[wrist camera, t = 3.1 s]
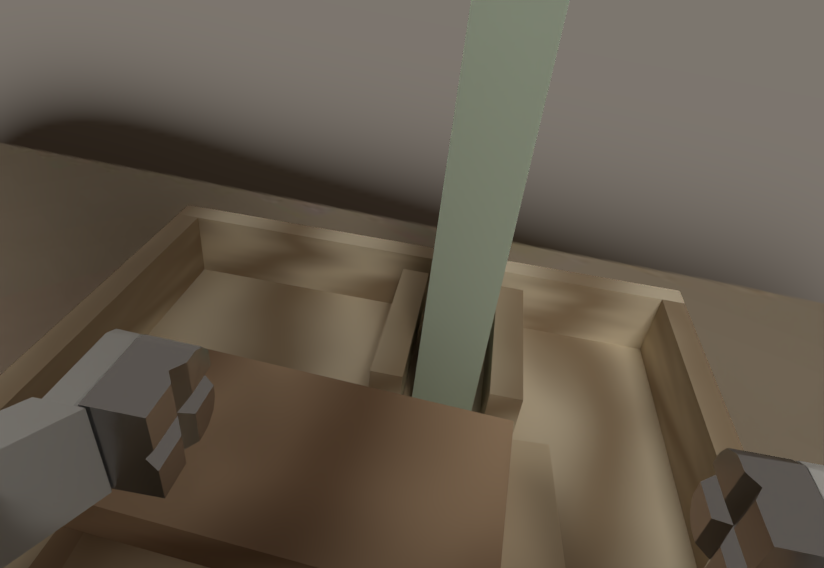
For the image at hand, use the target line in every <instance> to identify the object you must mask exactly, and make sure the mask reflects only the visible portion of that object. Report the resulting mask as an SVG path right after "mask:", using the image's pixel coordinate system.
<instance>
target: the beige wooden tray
mask: <svg viewBox="0 0 824 568" xmlns="http://www.w3.org/2000/svg"><path fill="white" fill-rule="evenodd" d="M433 253H434V248H431V247H426V246H420V245H414V244H409V243H403V242H397V241H391V240H386V239H380V238H374V237H369V236H363V235H357V234H351V233H346V232H340V231H334V230H329V229H323V228H317V227H311V226H306V225H300V224H294V223H289V222H283V221H277V220H272V219H266V218H260V217H254V216H249V215H243V214H237V213H232V212H226V211H220V210H214V209H209V208H203V207H197V206H192V205H188V206H187V207H185V208H184V209H183V210H182V211H181V212H180V213H179V214H178V215H177V216H175V217H174V218H173V219H172V220H171V221H170V222H169V223H168V224H167V225H166V226H164V227H163V228H162V229H161V230H160V231H159V232H158V233H157V234H156V235H155V236H153V237H152V238H151V239H150V240H149V241H148V242H147V243H146V244H145V245H143V246H142V247H141V248H140V249H139V250H138V251H137V252H136V253H135V254H134V255H132V256H131V257H130V258H129V259H128V260H127V261H126V262H125V263H124V264H122V265H121V266H120V267H119V268H118V269H117V270H116V271H115V272H114V273H113V274H111V275H110V276H109V277H108V278H107V279H106V280H105V281H104V282H103V283H101V284H100V285H99V286H98V287H97V288H96V289H95V290H94V291H93V292H92V293H90V294H89V295H88V296H87V297H86V298H85V299H84V300H83V301H82V302H80V303H79V304H78V305H77V306H76V307H75V308H74V309H73V310H72V311H71V312H69V313H68V314H67V315H66V316H65V317H64V318H63V319H62V320H61V321H60V322H58V323H57V324H56V325H55V326H54V327H53V328H52V329H51V330H50V331H48V332H47V333H46V334H45V335H44V336H43V337H42V338H41V339H40V340H39V341H37V342H36V343H35V344H34V345H33V346H32V347H31V348H30V349H29V350H27V351H26V352H25V353H24V354H23V355H22V356H21V357H20V358H19V359H18V360H16V361H15V362H14V363H13V364H12V365H11V366H10V367H9V368H8V369H6V370H5V371H4V372H3V373H2V374H1V375H0V411H1V410H3V409H5V408H8V407H10V406H12V405H15V404H17V403H19V402H22V401H24V400H26V399H29V398H31V397H35V398H41V399H42V398H43V397H44V396H45V395H46V394H47V393H48V392H49V391H50V390H51V389H52V388H53V387H54V385H55V384H56V383H57V382H58V381H59V380H60V379H61V378H62V377H63V376H64V375H65V374H66V373H67V372H68V371H69V370H70V369H71V368H72V367H73V366H74V365H75V364H76V363H77V362H78V361H79V360H80V359H81V358H82V357H83V356H84V355H85V354H86V353H87V352H88V351H89V350H90V349H91V348H92V347H93V346H94V345H95V344H96V342H97V341H98V340H99V339H100V338H101V337H102V336H103V335H104V334H105V333H107V332H109V331H112V330H114V329H120V330H125V331H129V332H134V333H138V334H143V335H145V334H146V335H150V336H155V337H160V338H164V339H169V340H173V341H178V342H182V343H187V344H191V345H196V346H201V347H203V348H206V349H210V350H214V351H219V352H223V353H227V354H231V355H236V356H240V357H244V358H248V359H253V360H257V361H261V362H265V363H270V364H274V365H278V366H282V367H287V368H291V369H295V370H299V371H304V372H308V373H312V374H316V375H321V376H325V377H329V378H333V379H338V380H342V381H346V382H350V383H355V384H359V385H363V386H367V387H372V388H376V389H380V390H384V391H389V392H393V393H397V394H401V395H406V396H410V397H412V394H413V387H414V380H415V374H416V367H417V360H418V353H419V347H420V340H421V333H422V327H423V320H424V313H425V307H426V300H427V293H428V286H429V280H430V273H431V266H432V260H433ZM472 411H473V412H478V413H482V414H486V415H490V416H495V417H499V418H503V419H507V420H512V421H514V424H513V435H512V439H513V440H520V441H527V442H534V443H541V444H548V445H549V449H550V456H551V464H552V471H553V479H554V486H555V494H556V501H557V508H558V516H559V523H560V531H561V538H562V546H563V553H564V561H565V568H704V567H705V566H706V564H707V562H708V560H709V558H708V557H707V556H706V555H705V554H704V553H703V552H702V550H701V549H700V548H699V547H698V546H697V545H696V544H695V542H694V538H693V534H692V530H691V523H690V508H691V502H692V496H693V494H694V492H695V490H696V489H697V487H698V485H699V483H700V482H701V481H703V480H705V479H707V478H710V477H712V476H714V475H716V473H715V470H714V467H713V464H712V463H713V461H714V460H715V458H716V457H717V455H718V454H719V452H721V451H723V450H725V449H726V448H731V449H737V450H742V451H744V450H743V447H742V445H741V442H740V440H739V437H738V435H737V433H736V430H735V428H734V425H733V423H732V420H731V418H730V415H729V413H728V410H727V408H726V405H725V403H724V400H723V398H722V395H721V393H720V390H719V388H718V385H717V383H716V380H715V378H714V375H713V373H712V370H711V368H710V365H709V363H708V360H707V358H706V355H705V353H704V350H703V348H702V345H701V343H700V340H699V338H698V335H697V333H696V330H695V328H694V325H693V323H692V321H691V318H690V316H689V313H688V311H687V308H686V306H685V303H684V301H683V298H682V296H681V293H680V291H677V290H671V289H665V288H660V287H654V286H648V285H643V284H637V283H631V282H625V281H620V280H614V279H608V278H603V277H597V276H591V275H586V274H580V273H574V272H568V271H563V270H557V269H551V268H546V267H540V266H534V265H528V264H523V263H517V262H511V261H507V264H506V268H505V273H504V277H503V281H502V285H501V289H500V293H499V298H498V302H497V306H496V310H495V314H494V319H493V323H492V327H491V331H490V335H489V339H488V344H487V348H486V352H485V356H484V360H483V365H482V369H481V373H480V377H479V381H478V385H477V390H476V394H475V398H474V402H473V406H472ZM54 533H55V532H54ZM54 533H53V534H54ZM53 534H51V535H50V536H48V537H47V538H45V539H44V540H43V541H41V542H40V543H38V544H37V545H35V546H34V547H32V548H31V549H30V550H28V551H27V552H25V553H24V554H22V555H21V556H20V557H18V558H17V559H15V560H14V561H12V562H11V563H10V564H8V565H7V566H5V567H4V568H29V566H30V565H31V564H32V562H33V561H34V560H35V558H36V557H37V556H38V554H39V553H40V551H41V550H42V549H43V547H44V546H45V545H46V543H47V542H48V541H49V539H50V538H51V537H52V535H53Z"/></svg>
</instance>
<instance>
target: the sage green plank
mask: <svg viewBox="0 0 824 568" xmlns="http://www.w3.org/2000/svg"><path fill="white" fill-rule="evenodd" d="M569 1H570V0H471V5H470V11H469V18H468V25H467V32H466V39H465V46H464V52H463V59H462V65H461V73H460V79H459V86H458V92H457V99H456V105H455V112H454V119H453V126H452V132H451V139H450V146H449V152H448V160H447V166H446V173H445V180H444V186H443V193H442V199H441V206H440V213H439V219H438V226H437V233H436V239H435V246H434V253H433V260H432V266H431V273H430V280H429V286H428V293H427V300H426V307H425V313H424V320H423V327H422V333H421V340H420V347H419V353H418V360H417V367H416V374H415V380H414V387H413V394H412V397H414V398H418V399H423V400H427V401H431V402H435V403H440V404H444V405H448V406H452V407H457V408H461V409H465V410H469V411H472V406H473V402H474V398H475V394H476V390H477V385H478V381H479V377H480V373H481V369H482V365H483V360H484V356H485V352H486V348H487V344H488V339H489V335H490V331H491V327H492V323H493V319H494V314H495V310H496V306H497V302H498V298H499V293H500V289H501V285H502V281H503V277H504V273H505V268H506V264H507V260H508V256H509V252H510V247H511V243H512V239H513V235H514V230H515V226H516V222H517V218H518V214H519V210H520V206H521V201H522V197H523V193H524V189H525V185H526V180H527V176H528V172H529V168H530V164H531V159H532V155H533V151H534V147H535V143H536V139H537V134H538V130H539V126H540V121H541V117H542V113H543V109H544V105H545V101H546V97H547V92H548V89H549V84H550V80H551V76H552V72H553V68H554V63H555V59H556V55H557V51H558V47H559V42H560V38H561V34H562V30H563V26H564V22H565V17H566V13H567V9H568V5H569Z"/></svg>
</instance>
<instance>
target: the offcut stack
mask: <svg viewBox="0 0 824 568" xmlns="http://www.w3.org/2000/svg"><path fill="white" fill-rule="evenodd" d="M205 349H206V348H205ZM207 350H208V352H209V357H210V362H211V366H210V368H209V369H208V371H207V372H206V374H205V376H206V377H207V378H208V379H209V380H210V382H211V383H212V384H213V385H214V392H215V401H214V410H213V413H212V416H211V419H210V422H209V425H208V427H207V429H206V431H205V433H204V434H203V436H202V438H201V440H200V441H199V442H197V443H195V444H193V445H192V446H190V447H188V448H187V449H185V450H184V453H185V458H186V465H185V466H184V468H183V470H182V471H181V473H180V475H179V476H178V478H177V480H176V481H175V483H174V484H173V486H172V488H171V489H170V491H169V493H168V494H167V496H166V498H160V497H155V496H149V495H144V494H138V493H133V492H127V491H122V490H117V489H112V492H111V493H110V494H108V495H107V496H106V497H104V498H103V499H101V500H100V501H98V502H97V503H96V504H94V505H93V506H91V507H90V508H88V509H87V510H86V511H84V512H83V513H81V514H80V515H78V516H77V517H75V518H74V519H73V520H71V521H70V522H68V523H67V524H65V525H64V526H63V527H61V528H60V529H58V530H57V531H55V533H54V534H53V535H52V537H51V538H50V539H49V541H48V542H47V543H46V545H45V546H44V547H43V549H42V550H41V551H40V553H39V554H38V556H37V557H36V558H35V560H34V561H33V562H32V564H31V565H30V566H29V568H565V561H564V553H563V546H562V538H561V531H560V523H559V516H558V508H557V501H556V494H555V486H554V479H553V471H552V464H551V456H550V449H549V445H548V444H541V443H534V442H527V441H520V440H513V439H512V435H513V424H514V421H512V420H507V419H503V418H499V417H495V416H490V415H486V414H482V413H478V412H473V411H469V410H465V409H461V408H457V407H452V406H448V405H444V404H440V403H435V402H431V401H427V400H423V399H418V398H414V397H410V396H406V395H401V394H397V393H393V392H389V391H384V390H380V389H376V388H372V387H367V386H363V385H359V384H355V383H350V382H346V381H342V380H338V379H333V378H329V377H325V376H321V375H316V374H312V373H308V372H304V371H299V370H295V369H291V368H287V367H282V366H278V365H274V364H270V363H265V362H261V361H257V360H253V359H248V358H244V357H240V356H236V355H231V354H227V353H223V352H219V351H214V350H210V349H207Z"/></svg>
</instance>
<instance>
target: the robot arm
mask: <svg viewBox="0 0 824 568" xmlns="http://www.w3.org/2000/svg"><path fill="white" fill-rule="evenodd" d="M210 366H211V362H210V357H209V352H208V350H207V349H205V348H203V347H201V346H196V345H191V344H187V343H182V342H178V341H173V340H169V339H164V338H160V337H155V336H150V335H146V334H145V335H143V334H138V333H134V332H129V331H125V330H120V329H114V330H112V331H109V332H107V333H105V334H104V335H103V336H102V337H101V338H100V339H99V340H98V341H97V342H96V344H95V345H94V346H93V347H92V348H91V349H90V350H89V351H88V352H87V353H86V354H85V355H84V356H83V357H82V358H81V359H80V360H79V361H78V362H77V363H76V364H75V365H74V366H73V367H72V368H71V369H70V370H69V371H68V372H67V373H66V374H65V375H64V376H63V377H62V378H61V379H60V380H59V381H58V382H57V383H56V384H55V385H54V387H53V388H52V389H51V390H50V391H49V392H48V393H47V394H46V395H45V396H44V397H43V398H42V399H41V398H35V397H31V398H29V399H26V400H24V401H22V402H19V403H17V404H15V405H12V406H10V407H8V408H5V409H3V410H1V411H0V568H4V567H5V566H7V565H8V564H10V563H11V562H12V561H14V560H15V559H17V558H18V557H20V556H21V555H22V554H24V553H25V552H27V551H28V550H30V549H31V548H32V547H34V546H35V545H37V544H38V543H40V542H41V541H43V540H44V539H45V538H47V537H48V536H50V535H51V534H53V533H54V532H55V531H57V530H58V529H60V528H61V527H63V526H64V525H65V524H67V523H68V522H70V521H71V520H73V519H74V518H75V517H77V516H78V515H80V514H81V513H83V512H84V511H86V510H87V509H88V508H90V507H91V506H93V505H94V504H96V503H97V502H98V501H100V500H101V499H103V498H104V497H106V496H107V495H108V494H110V493H111V492H112V489H117V490H122V491H127V492H133V493H138V494H144V495H149V496H155V497H160V498H166V496H167V494H168V493H169V491H170V489H171V488H172V486H173V484H174V483H175V481H176V480H177V478H178V476H179V475H180V473H181V471H182V470H183V468H184V466H185V465H186V458H185V453H184V450H185V449H187V448H188V447H190V446H192V445H193V444H195V443H197V442H199V441H200V440H201V438H202V436H203V434H204V433H205V431H206V429H207V427H208V425H209V422H210V419H211V416H212V413H213V410H214V401H215V392H214V385H213V384H212V383H211V382H210V380H209V379H208V378H207V377H206V376H205V374H206V372H207V371H208V369H209V368H210ZM712 464H713V467H714V470H715V473H716V475H714V476H712V477H710V478H707V479H705V480H703V481H701V482H700V483H699V485H698V487H697V489H696V490H695V492H694V494H693V496H692V502H691V508H690V523H691V530H692V534H693V538H694V542H695V544H696V545H697V546H698V547H699V548H700V549H701V550H702V552H703V553H704V554H705V555H706V556H707V557H708V558H709V560H708V562H707V564H706V566H705V567H704V568H824V465H819V464H813V463H808V462H802V461H794V460H791V459H786V458H780V457H775V456H770V455H764V454H759V453H753V452H748V451H742V450H737V449H731V448H726V449H725V450H723V451H721V452H719V454H718V455H717V457H716V458H715V460H714V461H713V463H712Z"/></svg>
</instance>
